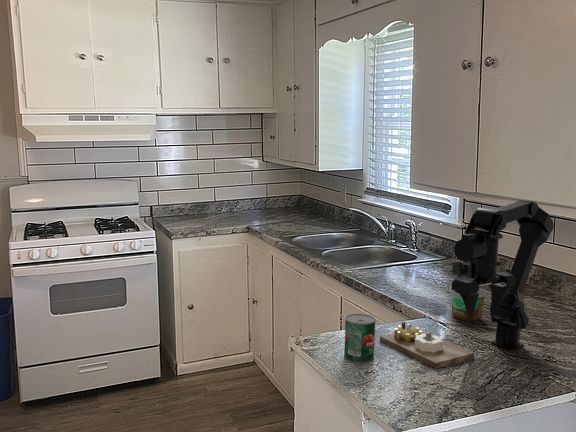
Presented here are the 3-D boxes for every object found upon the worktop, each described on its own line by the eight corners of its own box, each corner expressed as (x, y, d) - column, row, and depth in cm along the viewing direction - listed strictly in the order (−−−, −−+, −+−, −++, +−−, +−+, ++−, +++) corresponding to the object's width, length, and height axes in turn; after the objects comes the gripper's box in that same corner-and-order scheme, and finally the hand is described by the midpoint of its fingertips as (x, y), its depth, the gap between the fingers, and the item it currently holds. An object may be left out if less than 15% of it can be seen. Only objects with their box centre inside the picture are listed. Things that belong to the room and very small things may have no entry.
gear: (408, 331, 174) (409, 318, 173) (427, 339, 167) (427, 326, 167) (388, 336, 170) (389, 322, 169) (406, 344, 164) (407, 330, 163)
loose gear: (428, 340, 167) (428, 332, 167) (448, 349, 161) (448, 340, 160) (408, 345, 163) (409, 336, 163) (428, 354, 157) (428, 345, 157)
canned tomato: (343, 352, 162) (344, 313, 160) (372, 352, 161) (373, 313, 160) (344, 363, 154) (346, 323, 152) (375, 364, 153) (377, 323, 152)
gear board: (416, 332, 177) (417, 315, 176) (473, 358, 159) (475, 338, 158) (379, 341, 170) (380, 322, 169) (435, 368, 152) (436, 348, 151)
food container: (440, 315, 194) (442, 286, 192) (449, 311, 198) (451, 282, 196) (476, 324, 185) (478, 293, 184) (485, 320, 190) (487, 290, 188)
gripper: (485, 247, 167) (482, 301, 169) (437, 253, 157) (434, 310, 160) (519, 255, 158) (514, 311, 160) (470, 262, 148) (466, 322, 150)
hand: (481, 313), depth 158 cm, fingers open, 9 cm apart
